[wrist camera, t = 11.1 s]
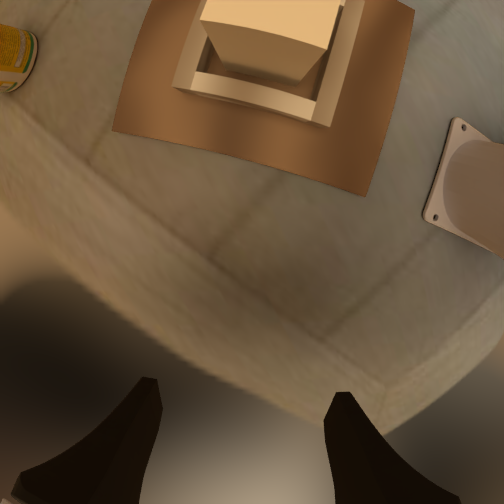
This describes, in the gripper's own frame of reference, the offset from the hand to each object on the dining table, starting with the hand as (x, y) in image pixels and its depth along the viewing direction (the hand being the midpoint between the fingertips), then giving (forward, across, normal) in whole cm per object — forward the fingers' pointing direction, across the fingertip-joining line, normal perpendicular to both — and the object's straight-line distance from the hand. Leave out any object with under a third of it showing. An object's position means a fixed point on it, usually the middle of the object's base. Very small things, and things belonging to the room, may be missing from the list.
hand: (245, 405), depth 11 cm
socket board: (+10, 0, -15) cm, 19 cm away
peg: (+9, 0, -15) cm, 18 cm away
